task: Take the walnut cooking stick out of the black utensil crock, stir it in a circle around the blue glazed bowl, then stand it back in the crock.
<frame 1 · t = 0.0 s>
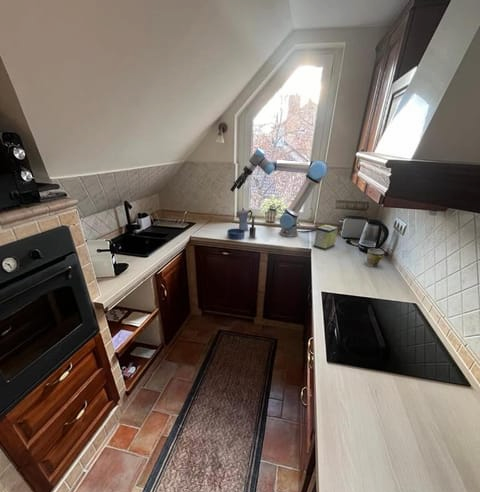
hand: (234, 189, 213), 36 cm above the worktop, tool tilted 35°, fingers open, 13 cm apart
crock: (252, 238, 216), on the worktop
moka pot: (243, 230, 235), on the worktop
bowl: (235, 237, 216), on the worktop
ceramic cup: (372, 265, 175), on the worktop
protein box: (323, 246, 205), on the worktop
cooking stick: (252, 237, 216), point 1 cm above the worktop, touching crock
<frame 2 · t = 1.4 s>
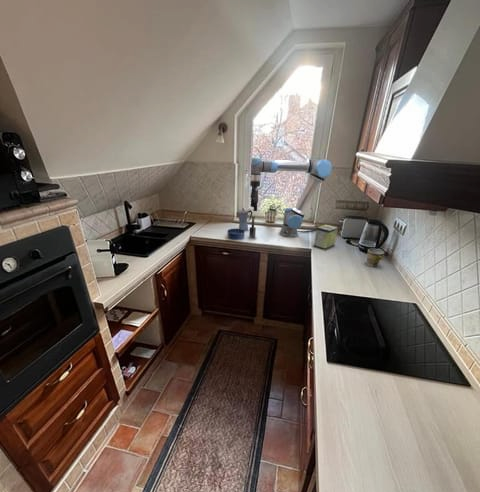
hand: (253, 208, 204), 25 cm above the worktop, tool pointing down, fingers open, 13 cm apart
nothing on the worktop moved.
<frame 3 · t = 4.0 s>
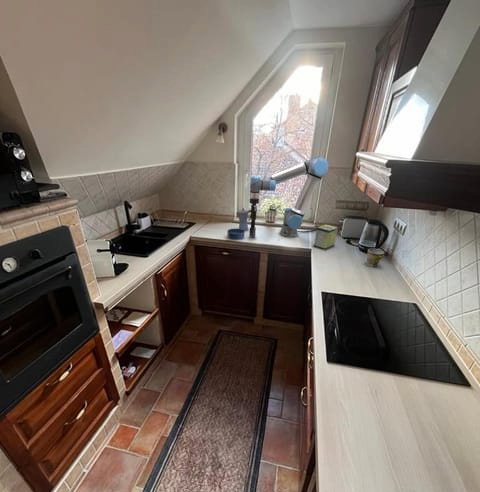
hand: (252, 227, 211), 9 cm above the worktop, tool pointing down, fingers closed on cooking stick, 2 cm apart
cooking stick: (252, 237, 216), point 1 cm above the worktop, touching crock, gripper
everything else where it was.
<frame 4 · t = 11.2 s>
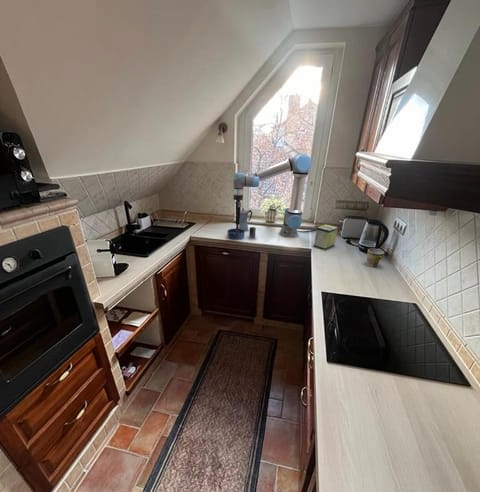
hand: (237, 224, 211), 12 cm above the worktop, tool pointing down, fingers closed on cooking stick, 2 cm apart
cooking stick: (237, 234, 216), point 3 cm above the worktop, touching gripper
everything else where it was.
when the fingers open (9 cm above the worktop, at t = 18.7 s): cooking stick stays where it is, resting on crock.
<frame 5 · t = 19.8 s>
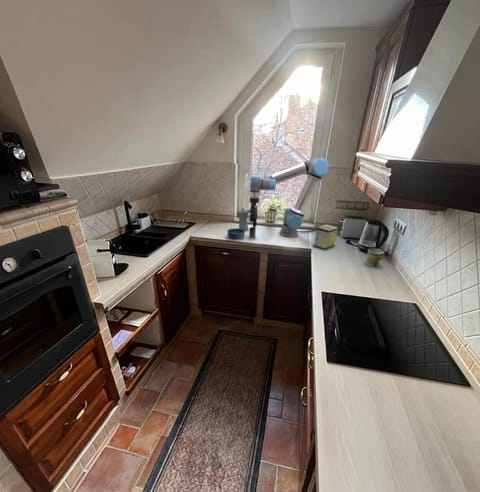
hand: (253, 224, 210), 12 cm above the worktop, tool pointing down, fingers open, 13 cm apart
cooking stick: (252, 237, 216), point 1 cm above the worktop, tilted 7°, touching crock
everything else where it was.
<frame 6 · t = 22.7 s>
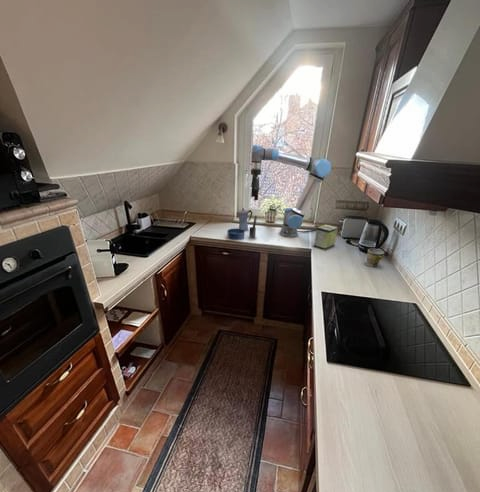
hand: (254, 198, 200), 33 cm above the worktop, tool pointing down, fingers open, 13 cm apart
nothing on the worktop moved.
at the end: cooking stick 0.2 cm off-centre in the crock, point 0.8 cm above the crock's base; cooking stick tilted 7°; the gripper is holding nothing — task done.
